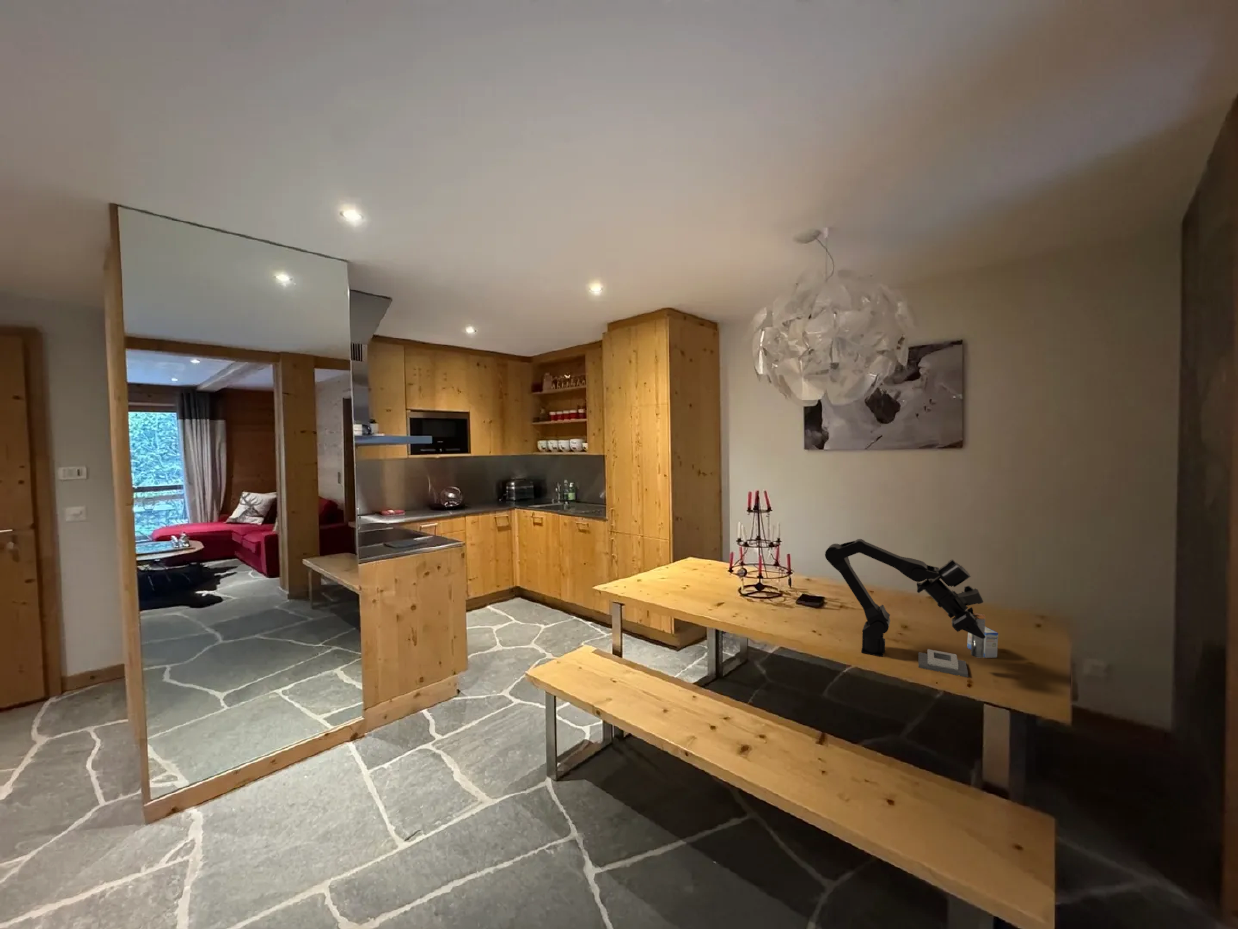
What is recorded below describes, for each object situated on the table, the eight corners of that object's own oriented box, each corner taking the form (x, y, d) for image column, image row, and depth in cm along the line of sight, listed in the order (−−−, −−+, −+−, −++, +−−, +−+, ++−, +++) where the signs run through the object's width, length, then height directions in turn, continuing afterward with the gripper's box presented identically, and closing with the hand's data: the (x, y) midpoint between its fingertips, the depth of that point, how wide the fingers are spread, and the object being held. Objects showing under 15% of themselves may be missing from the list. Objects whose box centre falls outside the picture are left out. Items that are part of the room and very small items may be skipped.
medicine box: (966, 647, 172) (967, 623, 172) (978, 647, 173) (979, 623, 172) (984, 658, 164) (986, 633, 164) (997, 657, 165) (998, 632, 164)
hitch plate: (918, 667, 159) (918, 658, 159) (918, 655, 167) (918, 646, 167) (968, 677, 152) (968, 668, 152) (965, 664, 161) (965, 655, 160)
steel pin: (971, 656, 154) (973, 615, 153) (970, 652, 157) (972, 612, 156) (984, 658, 152) (986, 617, 152) (982, 654, 155) (984, 614, 154)
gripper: (967, 588, 147) (1012, 632, 142) (962, 572, 163) (1003, 611, 158) (935, 610, 152) (977, 653, 147) (933, 592, 168) (971, 630, 163)
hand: (983, 635), depth 153 cm, fingers closed on steel pin, 3 cm apart
